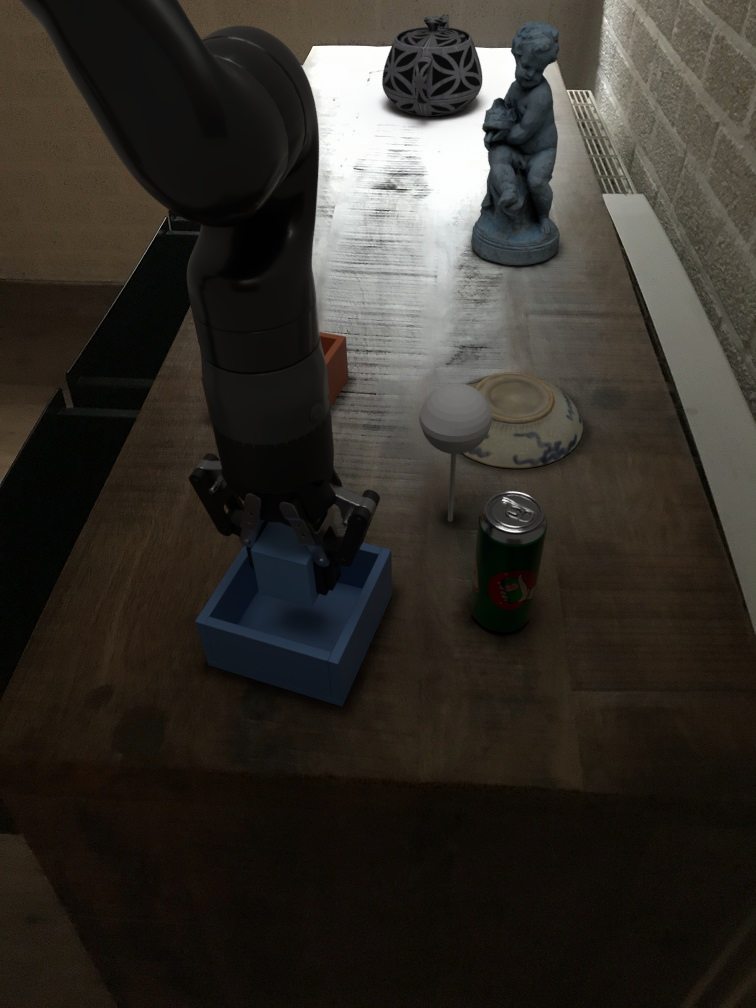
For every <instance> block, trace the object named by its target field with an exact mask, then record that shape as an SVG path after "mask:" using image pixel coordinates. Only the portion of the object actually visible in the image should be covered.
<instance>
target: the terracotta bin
mask: <svg viewBox="0 0 756 1008" xmlns="http://www.w3.org/2000/svg"><path fill="white" fill-rule="evenodd" d="M319 334H320V340H321V345H322V349H323V353H324V357H325V361H326V366H327V375H328V387H329V399H330V409H332V407H333V405H334V403H335V402H336V400H337V398H338V397H339V395H340V393H341V392H342V391H343V389H344V388H345V386H346V384H347V383H348V382H349V365H348V348H347V347H348V345H347V336H346V335H339V334H334V333H330V332H329V333H328V332H322V331H319ZM200 380H201V384H202V388H203V394H204V397H205V398H204V399H205V402H206V403H205V404H206V407H207V411H208V415H209V416H208V417H209V419H210V421H211V418H210V413H209V408H208V404H207V399H206V395H205V391H204V385H203V378H202V375H201V376H200Z"/></svg>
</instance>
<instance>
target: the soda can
mask: <svg viewBox="0 0 756 1008" xmlns="http://www.w3.org/2000/svg"><path fill="white" fill-rule="evenodd" d="M485 503H486V504H485V505H484V506H483V508H481V511H480V512H479V515H478V522H477V532H476V534H477V535H476V542H475V543H476V546H475V554H474V567H473V576H472V586H471V597H470V611H471V614H472V616H473V617H474V619H475V620H476V622H478V623H479V624H480V626H481V625H482V627H484V628H486V629H488V630H490V631H493V632H497V633H508V632H514V631H517V630H519V629H521V628H522V627H524V626H525V625H526V624H527V623H528V622H529V620H530V619H531V616H532V613H533V606H534V601H535V597H536V591H537V586H538V585H537V584H538V578H539V573H540V567H541V563H542V562H541V561H542V556H543V551H544V546H545V540H546V536H547V529H548V520H547V517H546V515H545V513H544V512H545V511H544V507H543V506H542V504H541V503H540V502H539V500H537V498H535V497H533V496H532V495H530V494H527V493H525V492H521V491H515V490H507V491H502V492H499V493H496V494H494V495H493V496H491V497H490V498H489V499H488V500H487V502H485Z"/></svg>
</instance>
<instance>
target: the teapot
mask: <svg viewBox="0 0 756 1008" xmlns="http://www.w3.org/2000/svg"><path fill="white" fill-rule="evenodd" d="M423 22H424V24H425V25H426V26H422V27H421V26H420V27H415V28H414V27H413V28H410V29H409V28H408V29H406V30H404V31H401V32H399V33H397V35H396V36H395V38H394V40H393V42H392V44H391V47H390V49H389V52H388V54H387V57H386V60H385V63H384V66H383V72H382V78H381V85H382V90H383V92H384V94H385V96H386V97H387V99H388V100H389V101H390V102H391V104H394V105H395V107H396V108H397V109H398V110H399V111H402V112H404V113H407V114H411V115H415V116H425V117H435V116H436V117H437V116H438V117H439V116H444V115H450V114H451V115H452V114H455V113H458V112H461V111H463V110H464V109H466V108H467V107H468V106H469V104H470V103H472V102H473V101H474V100H475V99H476V98H477V97H478V95H479V93H481V89H482V87H483V69H482V64H481V60H480V57H479V54H478V51H477V49H476V46H475V42H474V40H473V38H472V36H471V34H470V33H468V31H465V30H462V29H459V28H455V27H449V26H450V24H449V22H450V15H449V14H448V13H444V14H442V15H441V16H438V15H430V16H427V17H424V19H423Z"/></svg>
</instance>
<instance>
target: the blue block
mask: <svg viewBox="0 0 756 1008" xmlns="http://www.w3.org/2000/svg"><path fill="white" fill-rule="evenodd" d="M251 554H252V559H253V564H254V569H255V574H256V578H257V583H258V588H259V593H260V594H263V595H266V596H270V597H274V598H277V599H281V600H285V601H288V602H292V603H295V604H299V605H303V606H306V607H310V608H312V607H313V605H314V603H315V601H316V599H317V598H318V596H319V594H318V593H317V590H316V582H315V574H314V567H313V563H314V562H315V561H314V560H313V558H312V556H311V554H310V552H309V550H308V548H307V546H302V545H301V544H300V542H299V540H298V538H297V536H296V534H295V532H294V530H293V528H292V527H289V526H287V525H285V524H283V523H279V522H268V523H267V525H266V527H265V528H264V530H263V531H262V533H261V535H260V536H259V538H258V539H257V541H256V543H255V544H254V546H253V547H252V549H251Z"/></svg>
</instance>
